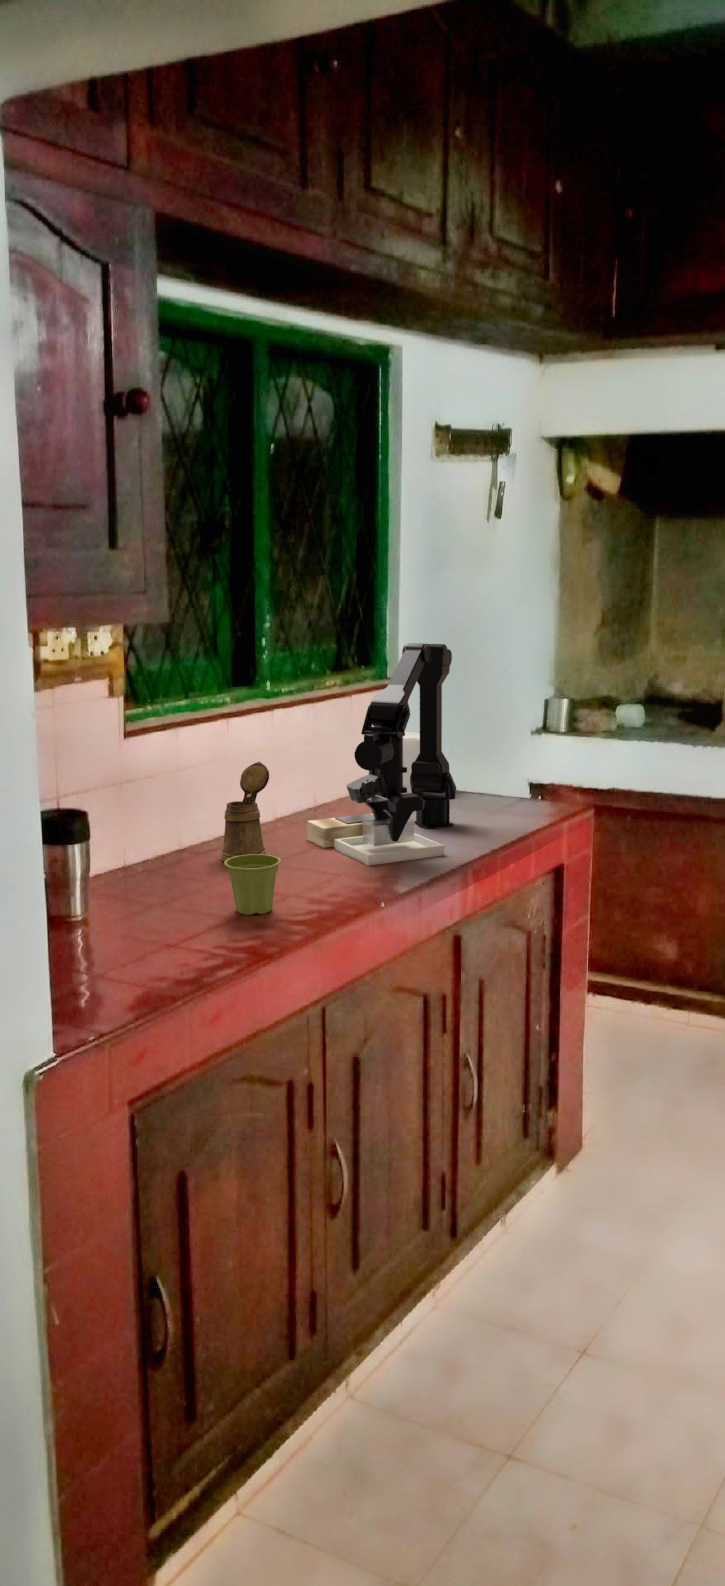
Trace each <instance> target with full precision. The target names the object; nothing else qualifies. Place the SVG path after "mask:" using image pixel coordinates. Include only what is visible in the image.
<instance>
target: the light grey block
mask: <svg viewBox="0 0 725 1586" xmlns="http://www.w3.org/2000/svg"><path fill="white" fill-rule="evenodd" d="M414 821H415V820H411V819H409V820H408V821H407V823H406V825H405V827H404V829H403V831H402V833H401V836H400V838H399V840H398V841H396V842H393V841H392V836H391V828H390V819H389V818H388V819H380V820H371V821H363V841H364V842H366V843H368V844H370V845H373V846H381V845H388V844H396V843H403V842H411V841H414V833H415V823H414Z"/></svg>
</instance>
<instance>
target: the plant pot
mask: <svg viewBox="0 0 725 1586" xmlns="http://www.w3.org/2000/svg"><path fill="white" fill-rule="evenodd" d="M281 861H282V860H281V858H280V857H278V856H275V855H271V854H266V855H264V854H249V855H240V856H235V857H232V858H229V859H227V860H226V861H225V862H224V866H225V867H226V869H227V872H228V874H229V877H230V883H231V888H232V895H233V899H234V900H233V901H234V905H235V910H236V912H237V913H239V914H242V915H245V916H251V915H254V914H259V915H264V914H267V913H269V912H271V911H272V910H273V906H274V905H273V904H274V895H275V887H276V885H275V884H276V878H277V876H276V875H277V873H278V869H279V866H280V864H281Z"/></svg>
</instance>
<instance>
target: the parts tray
mask: <svg viewBox="0 0 725 1586" xmlns="http://www.w3.org/2000/svg"><path fill="white" fill-rule="evenodd" d="M333 848H334V850H336V851H338V852H340V853H342V854H344V855H346V856H348V857H350V858H352V859H354V860H356V861H358V862H360V863H362V864H364V865H366V866H375V865H382V864H389V863H390V864H391V863H398V862H405V861H410V860H411V861H412V860H418V859H427V858H433V857H434V858H435V857H442V856H445V845H444V844H442V843H439V842H437V841H435V840H433V839H430V838H427V837H425V836H423V835H421V834H418V833H415V832H414V841H411V842H403V843H396V844H388V845H381V846H373V845H370V844H368V843H366V842H364V841H363V836H357V837H349V838H341V839H334V846H333Z"/></svg>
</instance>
